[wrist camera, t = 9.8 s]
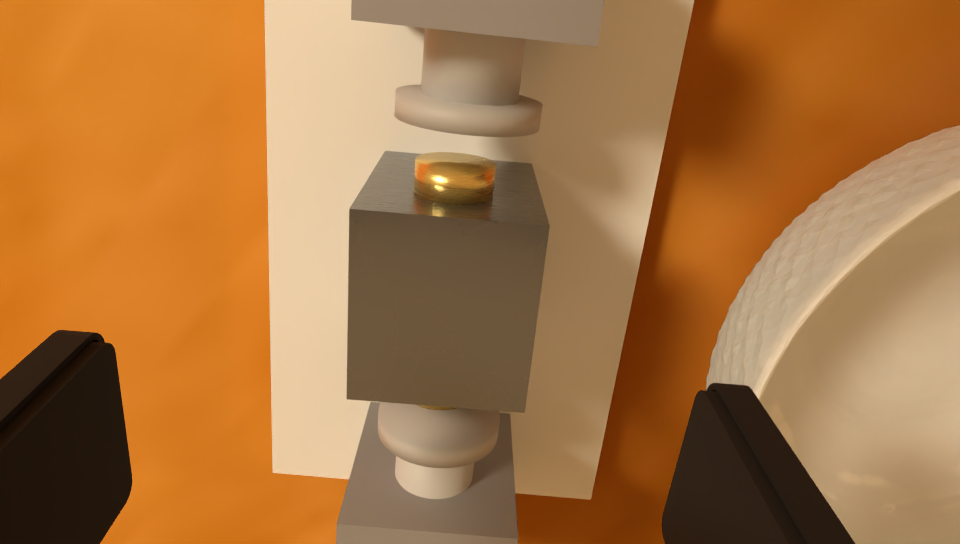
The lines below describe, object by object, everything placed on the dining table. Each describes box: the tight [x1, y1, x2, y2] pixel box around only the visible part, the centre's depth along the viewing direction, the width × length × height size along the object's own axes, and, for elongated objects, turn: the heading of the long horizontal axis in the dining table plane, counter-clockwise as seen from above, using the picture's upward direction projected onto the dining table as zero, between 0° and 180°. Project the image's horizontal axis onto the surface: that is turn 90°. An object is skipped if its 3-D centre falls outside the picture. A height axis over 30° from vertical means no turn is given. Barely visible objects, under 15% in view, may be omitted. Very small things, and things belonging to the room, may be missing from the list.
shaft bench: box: [265, 0, 694, 544], centre depth 19 cm, size 12×20×7 cm, turn 174°
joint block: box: [347, 151, 550, 413], centre depth 19 cm, size 7×4×6 cm
